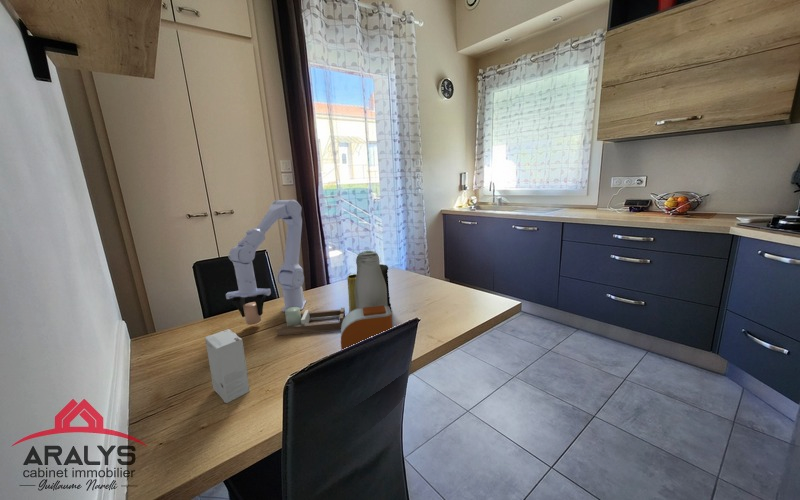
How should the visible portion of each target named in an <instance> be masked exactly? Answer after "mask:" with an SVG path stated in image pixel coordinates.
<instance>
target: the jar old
mask: <svg viewBox="0 0 800 500" xmlns="http://www.w3.org/2000/svg"><path fill="white" fill-rule="evenodd" d="M301 313H302V312H301V310H300V308H299V307H291V308H288V309H286V310H285V311H284V315H286V322H285V323H286V326H295V325H302V324H301Z"/></svg>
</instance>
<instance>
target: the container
mask: <svg viewBox="0 0 800 500" xmlns="http://www.w3.org/2000/svg"><path fill="white" fill-rule="evenodd" d="M380 268H381V272H382V275H383V277H384V280H385V283H386V288H387V306H389V307H390V310H391V311H392V306H391V305H392V304H391V302H390V298H391V297H390V289H389V286H390V285H389V276H388V273H389V271H388V270H389V266H388V265H386V264H383V263H382V264H380Z"/></svg>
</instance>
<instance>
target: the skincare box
mask: <svg viewBox="0 0 800 500" xmlns="http://www.w3.org/2000/svg"><path fill="white" fill-rule="evenodd" d="M204 339H205V340H204V341H205V345H206V353H207V358H208V365H209V369H210V376H211V382H212V388H213V391H214V392H216V393H217V394H218V395H219V397H220V398H221V399H222V400H223V402H224V403H225V404H228V403H230V402H232V401H234V400H235V399H238V398H240V397H242V396H243V395H244V396H245V394H247V393H249V392H250V385H249V377H248V371H247V364H246V363H247V362H246V356H245V350H244V343H243V338H241V337H239V336H238V335H237V333H236V332H233V331H232V330H230V329H229V328H228V329H225V330H221V331H218V332H216V333H214V334H209V335H207V336H204Z"/></svg>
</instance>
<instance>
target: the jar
mask: <svg viewBox="0 0 800 500" xmlns="http://www.w3.org/2000/svg"><path fill="white" fill-rule="evenodd" d="M243 309H244V315H245V317H244V319H245V324H246V325H250V326H251V325H256V324H259V323H260V322H261V321H262V315H261V316H259V315H258V309H257V305H256V302H255V301H252V302H248V303H245V305H243Z"/></svg>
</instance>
